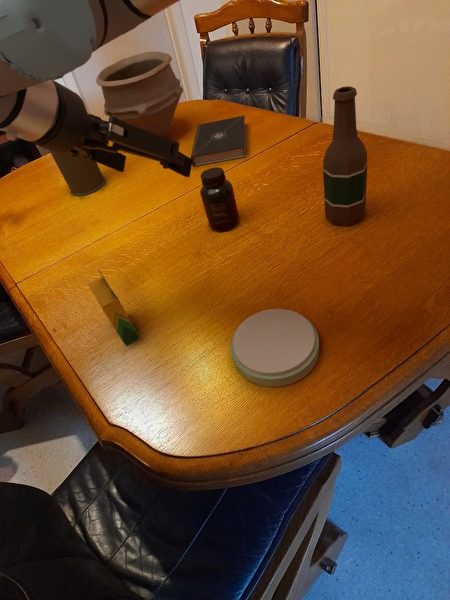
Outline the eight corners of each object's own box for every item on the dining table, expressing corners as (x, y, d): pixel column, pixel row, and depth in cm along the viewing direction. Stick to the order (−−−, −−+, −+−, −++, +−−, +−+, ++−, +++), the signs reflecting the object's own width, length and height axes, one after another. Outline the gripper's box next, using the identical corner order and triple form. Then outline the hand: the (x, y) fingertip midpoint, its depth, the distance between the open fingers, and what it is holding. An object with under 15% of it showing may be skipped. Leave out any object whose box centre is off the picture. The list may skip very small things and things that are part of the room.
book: (199, 134, 126) (196, 124, 124) (246, 125, 124) (244, 115, 122) (192, 167, 111) (189, 157, 109) (245, 157, 108) (244, 146, 106)
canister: (101, 192, 112) (67, 119, 98) (66, 199, 113) (28, 128, 100) (109, 173, 120) (78, 103, 106) (76, 180, 121) (42, 112, 107)
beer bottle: (317, 219, 82) (309, 96, 66) (341, 201, 85) (339, 78, 68) (349, 232, 77) (350, 101, 61) (373, 211, 80) (380, 82, 63)
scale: (325, 322, 63) (325, 310, 61) (311, 394, 55) (309, 382, 53) (246, 314, 68) (243, 302, 66) (222, 379, 59) (217, 368, 57)
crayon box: (111, 323, 73) (82, 275, 65) (125, 314, 74) (98, 266, 66) (125, 347, 68) (95, 298, 60) (140, 338, 69) (113, 289, 61)
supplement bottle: (246, 217, 88) (235, 166, 80) (229, 235, 85) (216, 183, 76) (220, 212, 92) (208, 162, 84) (203, 229, 88) (188, 179, 80)
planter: (204, 118, 135) (187, 43, 119) (178, 153, 119) (153, 72, 104) (140, 124, 143) (116, 55, 128) (107, 158, 128) (75, 84, 113)
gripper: (-27, 141, 53) (95, 183, 71) (113, 146, 41) (216, 195, 60) (-20, 82, 52) (102, 140, 71) (125, 71, 41) (225, 144, 59)
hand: (154, 166), depth 65 cm, fingers open, 13 cm apart
